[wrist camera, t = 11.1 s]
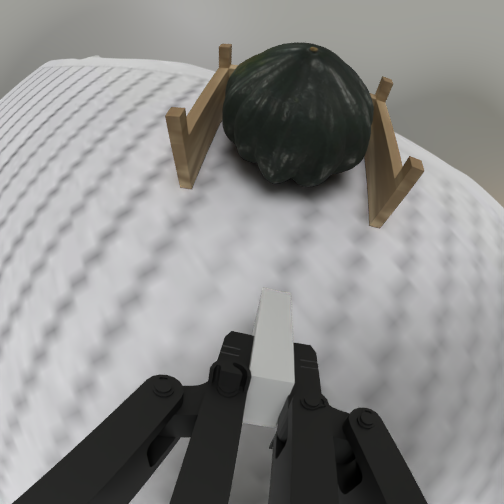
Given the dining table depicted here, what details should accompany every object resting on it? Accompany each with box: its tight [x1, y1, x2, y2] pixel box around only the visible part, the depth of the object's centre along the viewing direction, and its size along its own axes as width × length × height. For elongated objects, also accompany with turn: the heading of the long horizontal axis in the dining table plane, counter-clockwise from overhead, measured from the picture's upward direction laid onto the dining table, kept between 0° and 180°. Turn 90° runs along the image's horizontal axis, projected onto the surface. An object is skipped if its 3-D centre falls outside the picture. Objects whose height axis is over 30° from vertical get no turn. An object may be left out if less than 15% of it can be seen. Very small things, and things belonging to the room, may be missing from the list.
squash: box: [222, 43, 374, 187], centre depth 24 cm, size 14×15×15 cm
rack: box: [165, 44, 424, 228], centre depth 26 cm, size 20×16×9 cm
